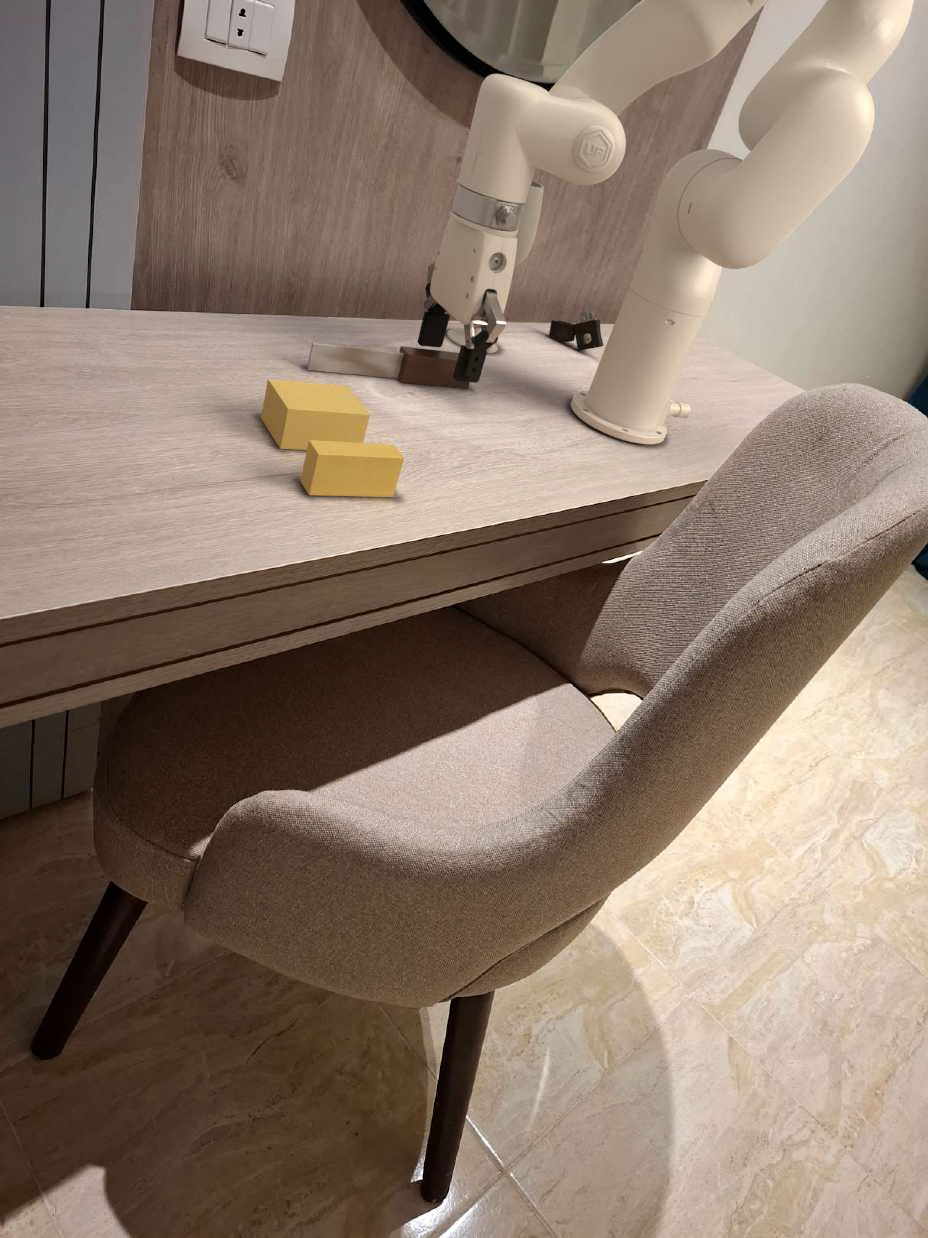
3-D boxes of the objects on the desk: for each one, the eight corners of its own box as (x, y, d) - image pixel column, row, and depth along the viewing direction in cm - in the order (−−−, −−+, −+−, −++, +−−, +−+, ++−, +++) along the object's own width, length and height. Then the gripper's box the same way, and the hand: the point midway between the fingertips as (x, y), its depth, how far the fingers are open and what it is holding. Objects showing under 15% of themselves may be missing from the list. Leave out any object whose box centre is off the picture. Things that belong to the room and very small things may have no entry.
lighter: (550, 356, 136) (544, 320, 135) (556, 354, 138) (550, 319, 137) (598, 347, 132) (592, 310, 130) (604, 345, 133) (598, 309, 132)
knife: (459, 380, 110) (467, 353, 108) (468, 388, 108) (476, 362, 106) (303, 364, 99) (309, 334, 97) (310, 374, 98) (317, 344, 96)
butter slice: (383, 483, 82) (394, 444, 80) (393, 497, 80) (404, 457, 78) (299, 481, 78) (308, 439, 76) (308, 495, 76) (318, 453, 74)
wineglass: (494, 358, 120) (547, 193, 109) (440, 339, 120) (487, 172, 109) (502, 343, 126) (553, 186, 115) (451, 325, 126) (497, 166, 115)
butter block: (338, 423, 90) (347, 385, 87) (360, 452, 86) (370, 414, 83) (260, 417, 85) (267, 378, 83) (280, 449, 81) (287, 408, 79)
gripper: (556, 241, 92) (508, 397, 102) (479, 192, 104) (443, 336, 113) (495, 231, 88) (451, 393, 98) (422, 180, 100) (389, 330, 109)
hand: (446, 362), depth 106 cm, fingers open, 9 cm apart
